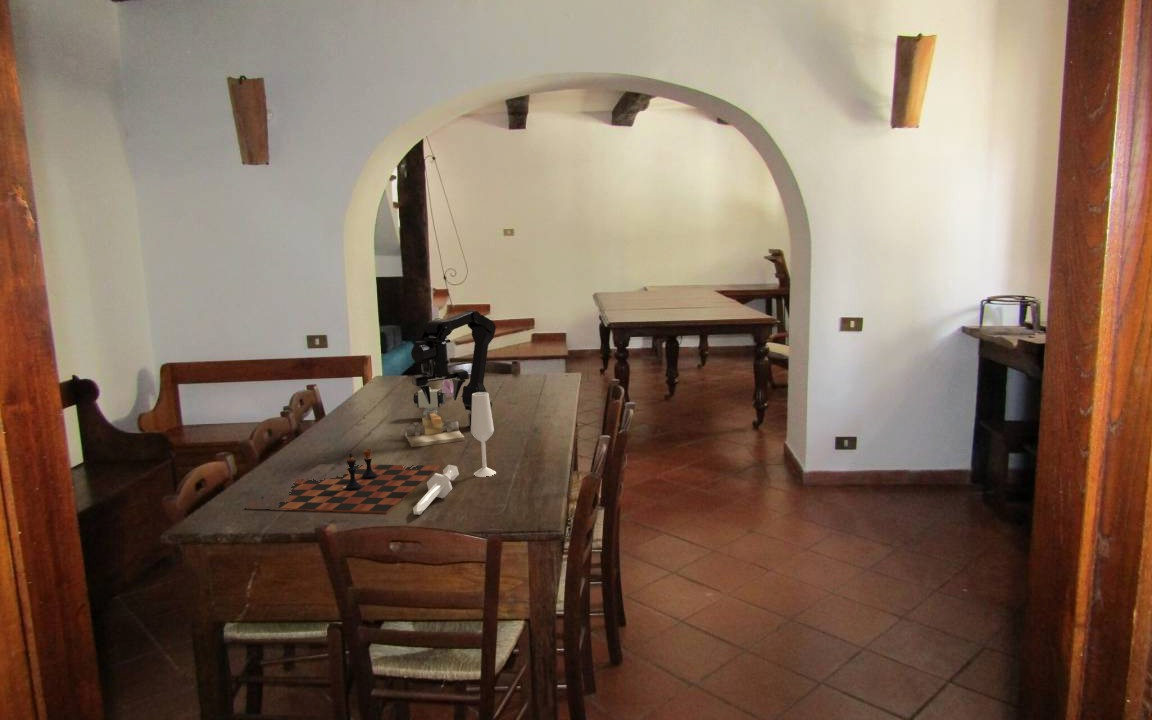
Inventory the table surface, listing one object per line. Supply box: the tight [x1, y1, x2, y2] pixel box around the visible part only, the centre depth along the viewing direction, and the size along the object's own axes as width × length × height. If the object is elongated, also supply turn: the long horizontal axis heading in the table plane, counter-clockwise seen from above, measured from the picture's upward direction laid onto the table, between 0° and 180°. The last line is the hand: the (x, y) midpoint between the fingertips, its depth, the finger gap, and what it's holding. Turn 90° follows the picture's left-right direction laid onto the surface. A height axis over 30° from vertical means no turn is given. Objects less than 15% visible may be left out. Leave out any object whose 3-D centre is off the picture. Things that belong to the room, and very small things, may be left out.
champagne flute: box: [470, 391, 497, 478], centre depth 223 cm, size 7×7×24 cm
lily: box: [439, 379, 463, 399], centre depth 328 cm, size 12×12×10 cm
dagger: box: [412, 464, 460, 516], centre depth 203 cm, size 8×6×28 cm
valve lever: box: [427, 410, 442, 425], centre depth 263 cm, size 3×14×2 cm, turn 20°
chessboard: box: [249, 448, 441, 515], centre depth 218 cm, size 40×40×11 cm
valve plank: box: [404, 415, 466, 448], centre depth 266 cm, size 18×16×7 cm
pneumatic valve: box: [412, 387, 447, 418], centre depth 296 cm, size 6×12×12 cm, turn 82°
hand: (442, 402), depth 263 cm, fingers open, 9 cm apart
